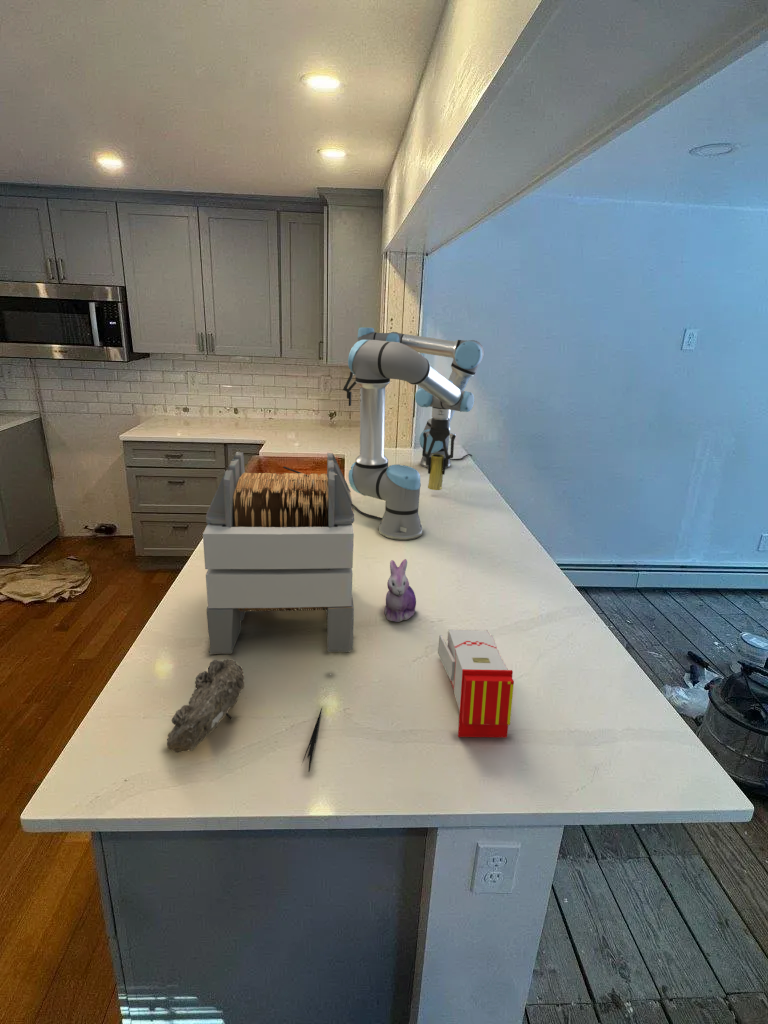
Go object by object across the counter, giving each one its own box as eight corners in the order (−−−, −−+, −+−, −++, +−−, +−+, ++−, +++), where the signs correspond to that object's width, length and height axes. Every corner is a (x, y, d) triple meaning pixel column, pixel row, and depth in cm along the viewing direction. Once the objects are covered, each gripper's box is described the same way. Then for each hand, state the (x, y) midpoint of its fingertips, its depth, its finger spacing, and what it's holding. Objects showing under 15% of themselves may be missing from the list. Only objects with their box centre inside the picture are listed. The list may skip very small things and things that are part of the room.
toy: (488, 613, 130) (523, 677, 101) (484, 667, 133) (517, 744, 104) (435, 612, 130) (455, 676, 101) (432, 666, 133) (451, 743, 103)
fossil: (192, 660, 117) (244, 628, 112) (224, 691, 120) (276, 661, 115) (142, 746, 98) (202, 712, 93) (182, 779, 101) (242, 748, 96)
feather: (331, 679, 122) (336, 673, 122) (307, 777, 96) (313, 769, 95) (324, 675, 122) (329, 669, 121) (298, 772, 95) (304, 764, 95)
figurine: (392, 627, 141) (395, 572, 136) (374, 608, 149) (376, 556, 144) (425, 619, 145) (429, 566, 140) (405, 601, 154) (408, 550, 149)
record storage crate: (229, 585, 158) (221, 442, 144) (346, 584, 161) (350, 444, 148) (206, 656, 126) (193, 481, 112) (353, 652, 130) (358, 483, 116)
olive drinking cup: (427, 489, 238) (429, 456, 234) (428, 485, 244) (430, 453, 239) (441, 490, 238) (444, 457, 233) (442, 486, 243) (445, 454, 239)
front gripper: (417, 418, 228) (413, 473, 236) (463, 421, 227) (458, 477, 234) (418, 415, 235) (414, 469, 243) (463, 418, 234) (458, 472, 241)
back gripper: (337, 360, 267) (336, 405, 274) (390, 363, 264) (388, 409, 271) (340, 359, 274) (340, 403, 281) (392, 362, 271) (389, 406, 278)
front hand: (436, 473), depth 239 cm, fingers closed on olive drinking cup, 5 cm apart
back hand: (363, 406), depth 276 cm, fingers open, 13 cm apart
